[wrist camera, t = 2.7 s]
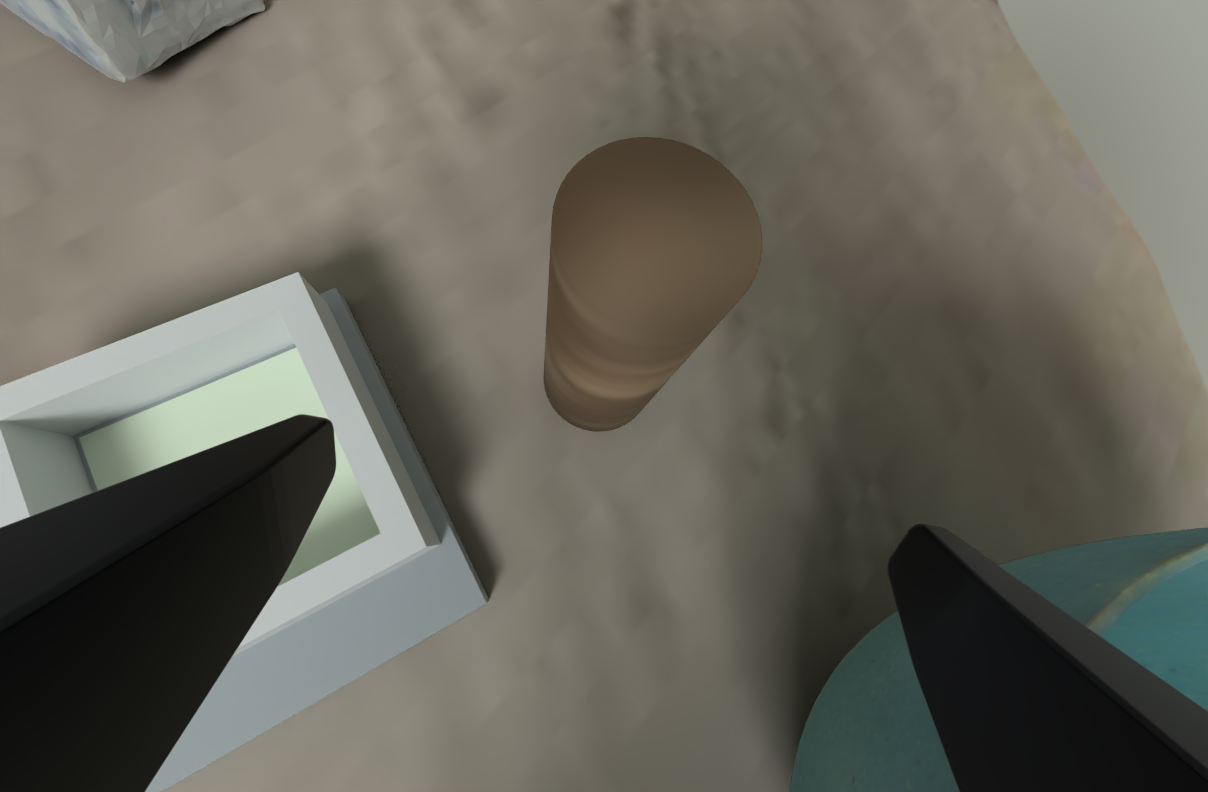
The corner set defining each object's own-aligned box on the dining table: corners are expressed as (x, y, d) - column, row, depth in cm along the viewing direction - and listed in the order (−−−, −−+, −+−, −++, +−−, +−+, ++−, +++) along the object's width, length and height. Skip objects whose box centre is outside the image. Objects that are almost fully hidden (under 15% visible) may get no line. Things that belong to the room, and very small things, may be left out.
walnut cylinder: (669, 401, 21) (801, 274, 11) (575, 450, 20) (618, 365, 10) (617, 311, 22) (693, 111, 11) (524, 355, 21) (513, 179, 10)
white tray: (489, 599, 19) (478, 615, 15) (129, 807, 16) (18, 882, 12) (344, 298, 21) (307, 253, 17) (4, 436, 18) (-119, 414, 14)
